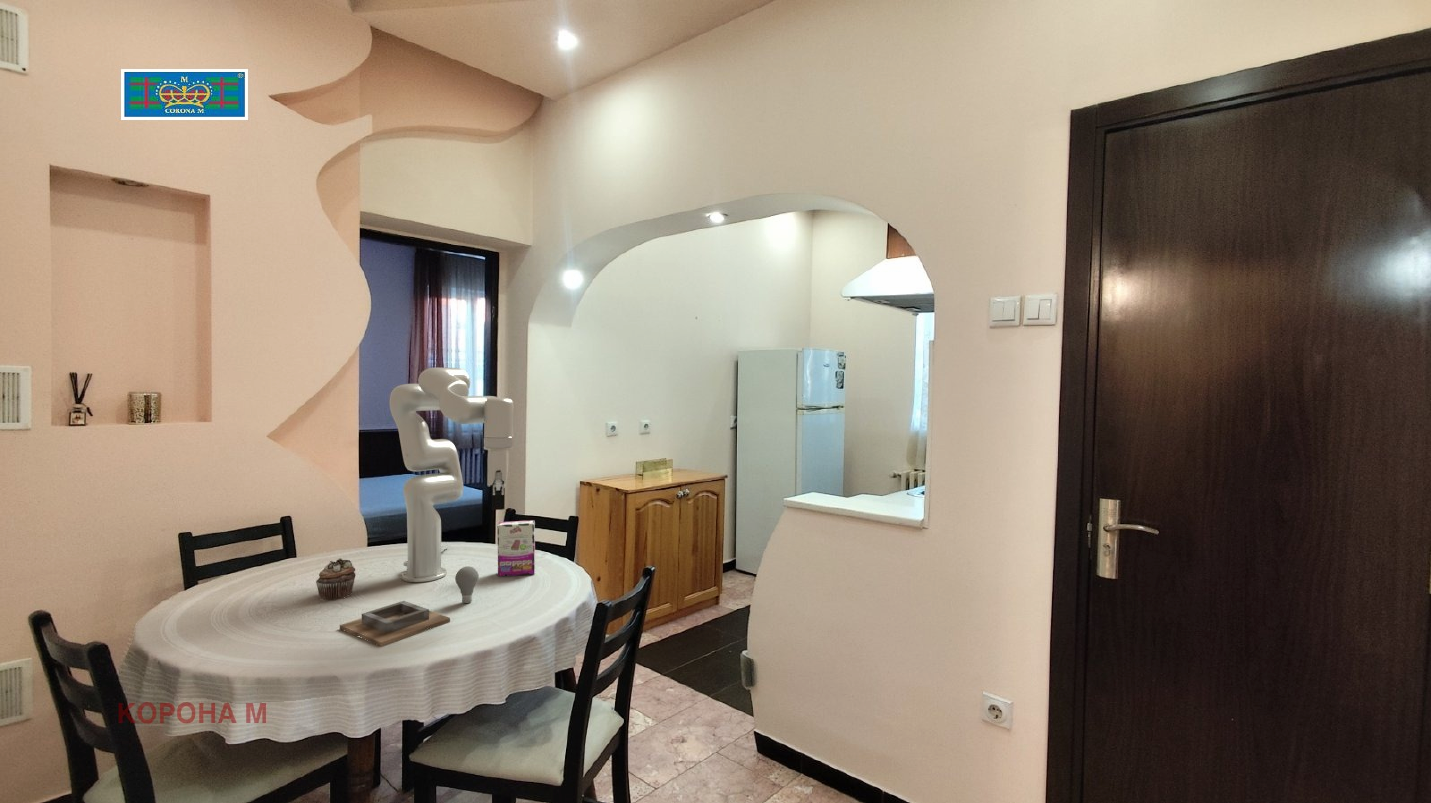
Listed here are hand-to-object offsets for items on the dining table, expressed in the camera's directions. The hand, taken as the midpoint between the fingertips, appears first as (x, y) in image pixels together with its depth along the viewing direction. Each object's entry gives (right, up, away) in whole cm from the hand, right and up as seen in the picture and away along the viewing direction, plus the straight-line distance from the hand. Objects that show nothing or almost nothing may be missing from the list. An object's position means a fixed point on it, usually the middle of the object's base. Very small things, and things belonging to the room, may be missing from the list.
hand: (498, 505), depth 173 cm
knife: (-38, -25, +42) cm, 62 cm away
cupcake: (-48, -27, +6) cm, 55 cm away
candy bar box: (-4, -26, +28) cm, 39 cm away
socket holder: (-21, -28, -14) cm, 37 cm away
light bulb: (-9, -27, +2) cm, 29 cm away
